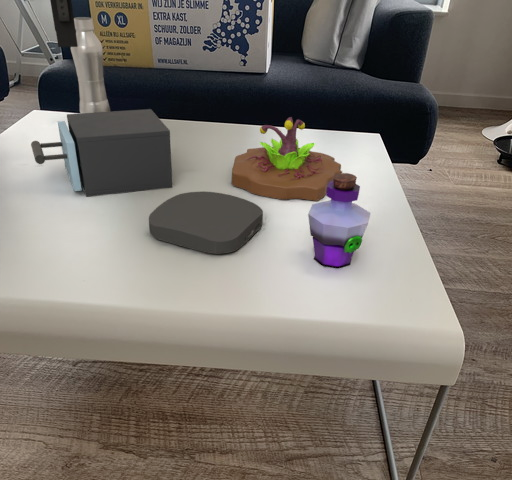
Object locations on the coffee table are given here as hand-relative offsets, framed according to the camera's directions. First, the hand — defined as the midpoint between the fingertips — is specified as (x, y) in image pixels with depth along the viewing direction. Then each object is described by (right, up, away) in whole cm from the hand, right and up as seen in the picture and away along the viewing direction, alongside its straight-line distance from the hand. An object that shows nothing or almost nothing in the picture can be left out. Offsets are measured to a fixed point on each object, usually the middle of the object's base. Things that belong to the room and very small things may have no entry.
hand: (65, 38), depth 84 cm
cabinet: (+6, -18, +12) cm, 23 cm away
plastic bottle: (-6, +1, +36) cm, 37 cm away
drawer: (+2, -18, +10) cm, 21 cm away
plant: (+35, -17, +16) cm, 42 cm away
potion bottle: (+40, -35, -7) cm, 54 cm away
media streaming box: (+22, -30, -2) cm, 37 cm away
